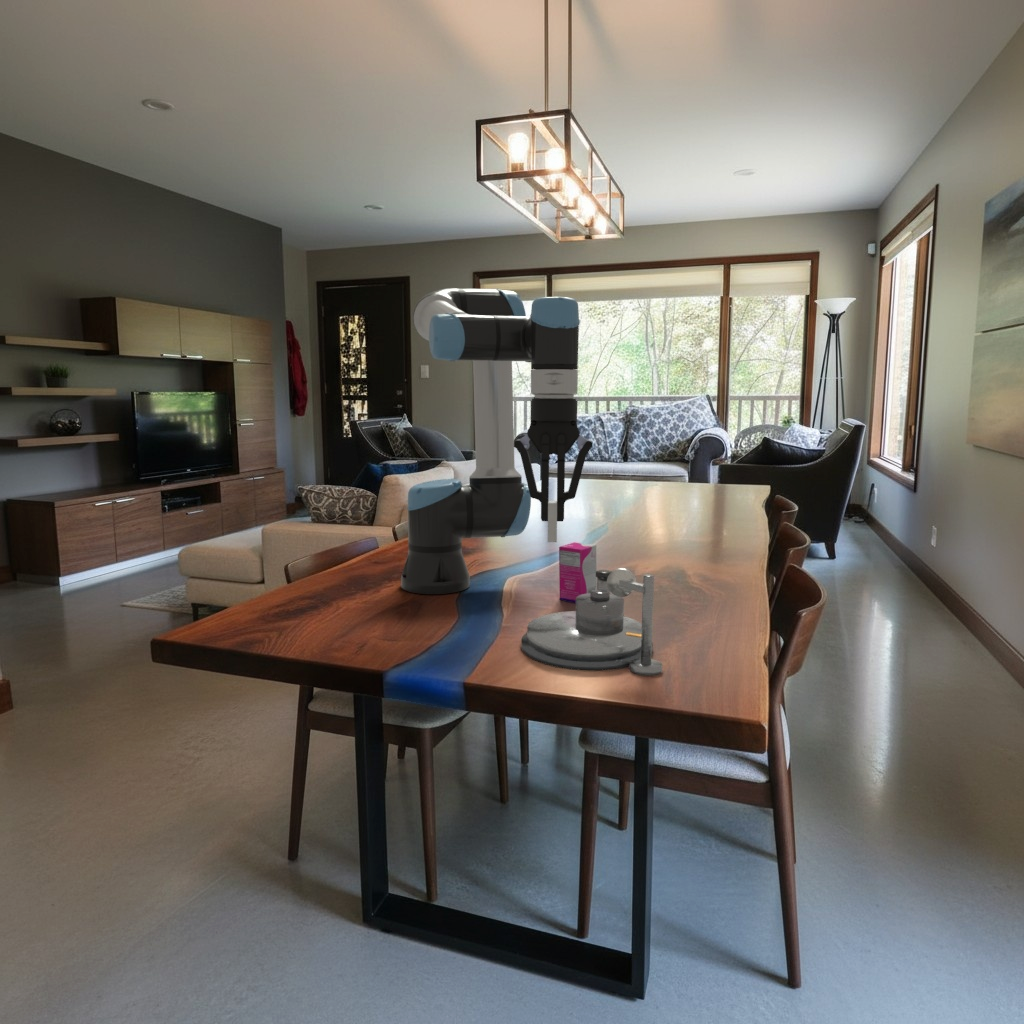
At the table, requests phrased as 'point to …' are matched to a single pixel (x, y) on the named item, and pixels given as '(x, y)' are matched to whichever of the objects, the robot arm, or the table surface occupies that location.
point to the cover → (599, 613)
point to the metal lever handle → (621, 586)
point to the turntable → (583, 635)
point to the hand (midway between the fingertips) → (552, 540)
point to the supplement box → (576, 570)
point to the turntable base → (576, 664)
